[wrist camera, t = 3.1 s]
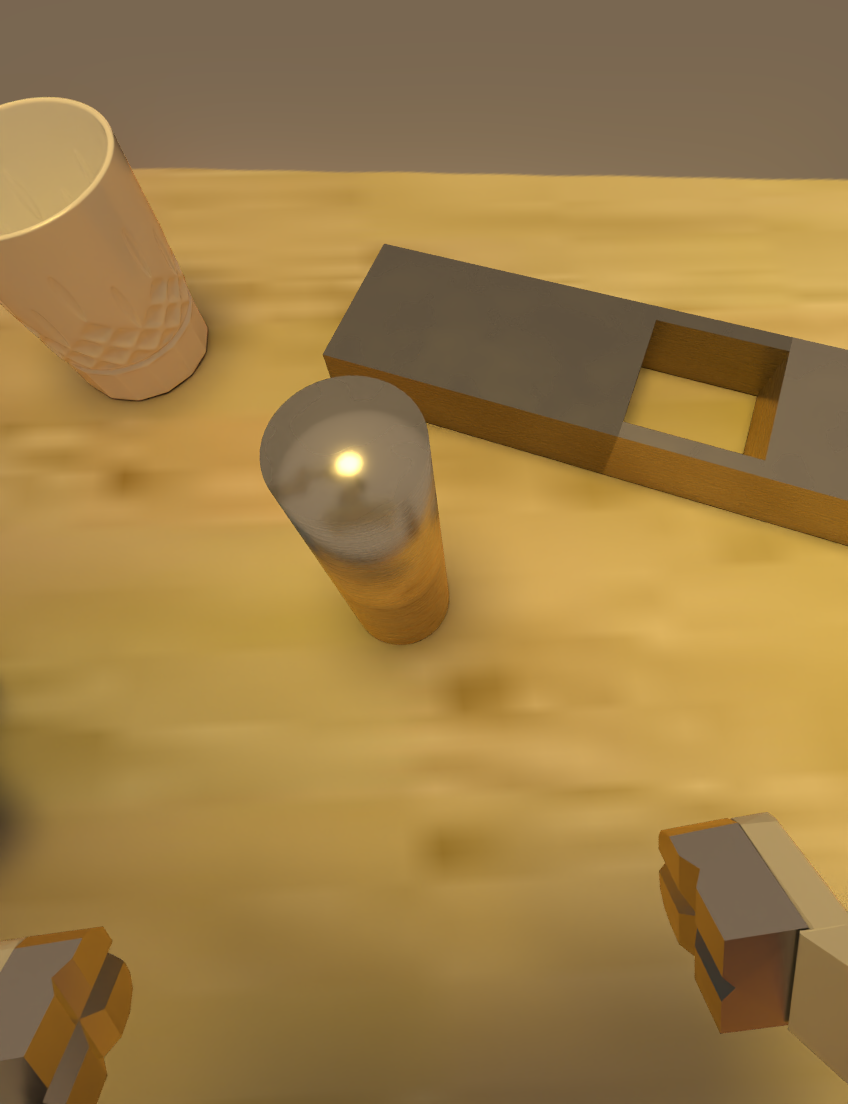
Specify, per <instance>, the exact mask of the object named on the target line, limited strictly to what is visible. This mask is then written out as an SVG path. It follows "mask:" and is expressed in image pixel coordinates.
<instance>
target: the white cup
mask: <svg viewBox="0 0 848 1104" xmlns="http://www.w3.org/2000/svg"><path fill="white" fill-rule="evenodd" d="M0 304H1V305H2V306H3V307H4V308H5V309H6V310H7V311H9V312H10V313H11V314H12V315H13V316H14V317H15V318H16V319H18V320H19V321H20V322H21V323H22V324H23V325H24V326H25V327H26V328H27V329H29V330H30V331H31V332H32V333H33V334H34V335H36V336H37V337H38V338H39V339H40V340H41V341H42V342H43V343H44V344H45V345H46V346H47V347H48V348H49V349H51V350H52V351H53V352H54V353H55V354H56V355H57V356H59V357H60V358H61V359H62V360H64V361H66V362H67V363H68V364H69V365H70V366H71V367H73V368H74V369H75V370H76V371H77V372H78V373H79V374H80V375H81V376H82V377H83V378H84V379H85V380H86V381H87V382H88V383H89V384H90V385H92V386H93V387H95V388H96V389H98V390H99V391H101V392H103V393H104V394H106V395H107V396H109V397H111V398H115V399H127V400H143V399H146V398H150V397H153V396H157V395H160V394H163V393H166V392H169V391H170V390H172V389H173V388H174V387H176V386H177V385H178V384H180V383H181V382H183V381H184V380H185V379H187V378H188V377H189V376H191V375H192V374H193V372H194V370H195V369H196V367H197V366H198V364H199V362H200V361H201V359H202V358H203V356H204V354H205V353H206V345H207V333H208V328H207V326H206V324H205V322H204V320H203V318H202V316H201V314H200V312H199V310H198V309H197V307H196V305H195V303H194V301H193V299H192V297H191V294H190V292H189V290H188V288H187V285H186V281H185V277H184V275H183V273H182V271H181V269H180V267H179V264H178V262H177V260H176V258H175V256H174V253H173V251H172V250H171V248H170V246H169V244H168V242H167V240H166V237H165V235H164V232H163V230H162V228H161V226H160V224H159V222H158V220H157V218H156V216H155V214H154V212H153V210H152V208H151V206H150V205H149V203H148V201H147V199H146V197H145V195H144V193H143V191H142V189H141V187H140V185H139V183H138V181H137V179H136V177H135V175H134V173H133V171H132V169H131V167H130V165H129V163H128V161H127V159H126V157H125V155H124V153H123V151H122V149H121V147H120V145H119V143H118V141H117V139H116V137H115V135H114V133H113V131H112V129H111V127H110V125H109V123H108V122H107V120H106V119H105V118H104V117H103V116H102V115H101V114H100V113H99V112H98V111H97V110H95V109H93V108H92V107H90V106H88V105H86V104H84V103H81V102H78V101H75V100H70V99H65V98H57V97H39V98H29V99H22V100H17V101H13V102H9V103H5V104H2V105H0Z"/></svg>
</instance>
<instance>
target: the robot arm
mask: <svg viewBox="0 0 848 1104" xmlns="http://www.w3.org/2000/svg"><path fill="white" fill-rule="evenodd" d="M659 851H660V853H661V855H662V857H663V859H664V861H665V864H664V865H663V867H662V868H661V869H660V870H659V880H660V890H661V895H662V899H663V903H664V908H665V911H666V913H667V916H668V919H669V922H670V925H671V927H672V929H673V931H674V934H675V936H676V938H677V941H678V943H679V945H681V946H682V947H683V948H685V949H686V950H687V951H688V952H690V953H691V954H692V955H694V956H695V980H696V982H697V985H698V987H699V989H700V991H701V993H702V995H703V998H704V1000H705V1002H706V1004H707V1006H708V1008H709V1010H710V1013H711V1015H712V1017H713V1019H714V1021H715V1023H716V1026H717V1028H718V1030H719V1032H720V1034H723V1033H730V1032H738V1031H746V1030H753V1029H761V1028H769V1027H776V1026H784V1025H788V1030H789V1031H790V1032H791V1033H792V1034H794V1035H795V1036H796V1037H797V1038H798V1039H799V1040H800V1041H801V1042H802V1043H803V1044H804V1045H806V1046H807V1047H808V1048H809V1049H810V1050H811V1051H812V1052H813V1053H814V1054H815V1055H816V1056H818V1057H819V1058H820V1059H821V1060H822V1061H823V1062H824V1063H825V1064H826V1065H827V1066H829V1067H830V1068H831V1069H832V1070H833V1071H834V1072H835V1073H836V1074H837V1075H838V1076H839V1077H841V1078H842V1079H843V1080H844V1081H845V1082H846V1083H847V1084H848V912H847V910H846V909H845V908H844V907H843V905H842V904H841V903H840V901H839V900H838V899H837V897H836V896H835V895H834V894H833V892H832V891H831V890H830V888H829V887H828V886H827V884H826V883H825V882H824V880H823V879H822V878H821V877H820V875H819V874H818V873H817V871H816V870H815V869H814V867H813V866H812V865H811V864H810V862H809V861H808V860H807V858H806V857H805V856H804V854H803V853H802V852H801V851H800V849H799V848H798V847H797V845H796V844H795V843H794V841H793V840H792V839H791V837H790V836H789V835H788V834H787V832H786V831H785V830H784V828H783V827H782V826H781V824H780V823H779V822H778V821H777V819H776V818H775V817H773V816H772V815H771V814H769V813H768V812H765V813H758V814H752V815H747V816H741V817H735V818H731V819H728V818H724V819H719V820H713V821H708V822H703V823H697V824H692V825H686V826H681V827H676V828H670V829H665V830H661V832H660V834H659ZM111 944H112V939H111V938H110V936H109V935H108V933H107V932H106V930H105V929H104V927H103V926H102V927H95V928H88V929H80V930H73V931H66V932H59V933H52V934H45V935H38V936H30V937H24V938H17V939H11V940H5V941H0V1104H97V1102H98V1099H99V1097H100V1094H101V1091H102V1089H103V1086H104V1083H105V1080H106V1078H107V1071H106V1066H105V1062H104V1057H105V1055H106V1054H107V1053H108V1052H109V1051H110V1050H111V1048H112V1047H113V1046H114V1045H115V1044H116V1043H117V1042H118V1040H119V1039H120V1038H121V1037H122V1034H123V1031H124V1029H125V1026H126V1023H127V1020H128V1017H129V1014H130V1009H131V1000H132V992H133V986H132V980H131V974H130V971H129V969H128V967H127V965H126V964H125V962H124V961H123V960H121V959H119V958H118V957H116V956H114V955H112V954H110V953H108V951H109V949H110V946H111Z"/></svg>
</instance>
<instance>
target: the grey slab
mask: <svg viewBox="0 0 848 1104" xmlns="http://www.w3.org/2000/svg"><path fill="white" fill-rule="evenodd" d="M323 357H324V360H325V362H326V365H327V368H328V371H329V374H330V377H331V378H333V377H339V376H367V377H372V378H376V379H379V380H382V381H385V382H388V383H390V384H392V385H394V386H396V387H397V388H399V389H400V390H402V391H403V392H404V393H406V394H407V395H408V396H409V397H410V398H411V399H412V400H413V401H414V403H415V404H416V405H417V406H418V408H419V410H420V411H421V413H422V415H423V417H424V420H425V422H428V423H431V424H434V425H438V426H441V427H445V428H448V429H451V430H455V431H458V432H462V433H465V434H469V435H472V436H475V437H479V438H482V439H486V440H489V441H492V442H496V443H499V444H503V445H506V446H509V447H513V448H516V449H520V450H523V451H527V452H530V453H533V454H537V455H540V456H544V457H547V458H550V459H554V460H557V461H561V462H564V463H568V464H571V465H574V466H578V467H581V468H585V469H588V470H591V471H595V472H598V473H602V474H605V475H608V476H612V477H615V478H619V479H622V480H626V481H629V482H632V483H636V484H639V485H643V486H646V487H649V488H653V489H656V490H660V491H663V492H666V493H670V494H673V495H677V496H680V497H684V498H687V499H690V500H694V501H697V502H701V503H704V504H707V505H711V506H714V507H718V508H721V509H725V510H728V511H731V512H735V513H738V514H742V515H745V516H748V517H752V518H755V519H759V520H762V521H765V522H769V523H772V524H776V525H779V526H783V527H786V528H789V529H793V530H796V531H800V532H803V533H806V534H810V535H813V536H817V537H820V538H823V539H827V540H830V541H834V542H837V543H841V544H844V545H847V546H848V350H845V349H841V348H836V347H832V346H828V345H823V344H819V343H815V342H810V341H806V340H802V339H797V338H793V337H788V336H784V335H780V334H775V333H771V332H767V331H762V330H758V329H754V328H749V327H745V326H741V325H736V324H732V323H727V322H723V321H719V320H714V319H710V318H706V317H701V316H697V315H693V314H688V313H684V312H679V311H675V310H671V309H666V308H662V307H658V306H653V305H649V304H645V303H640V302H636V301H632V300H627V299H623V298H618V297H614V296H610V295H605V294H601V293H597V292H592V291H588V290H584V289H579V288H575V287H570V286H566V285H562V284H557V283H553V282H549V281H544V280H540V279H536V278H531V277H527V276H523V275H518V274H514V273H509V272H505V271H501V270H496V269H492V268H488V267H483V266H479V265H475V264H470V263H466V262H461V261H457V260H453V259H448V258H444V257H440V256H435V255H431V254H427V253H422V252H418V251H414V250H409V249H405V248H400V247H396V246H392V245H387V244H384V245H383V247H382V249H381V250H380V252H379V254H378V256H377V258H376V259H375V261H374V263H373V265H372V267H371V268H370V270H369V272H368V274H367V276H366V277H365V279H364V281H363V283H362V285H361V286H360V288H359V290H358V292H357V294H356V295H355V297H354V299H353V301H352V303H351V305H350V306H349V308H348V310H347V312H346V314H345V315H344V317H343V319H342V321H341V323H340V324H339V326H338V328H337V330H336V332H335V333H334V335H333V337H332V339H331V341H330V342H329V344H328V346H327V348H326V350H325V351H324V353H323ZM641 367H645V368H649V369H653V370H657V371H661V372H665V373H669V374H673V375H677V376H681V377H685V378H689V379H692V380H696V381H700V382H704V383H708V384H712V385H716V386H720V387H724V388H728V389H732V390H736V391H740V392H744V393H748V394H752V395H756V396H757V400H756V404H755V408H754V412H753V417H752V421H751V425H750V429H749V433H748V437H747V442H746V446H745V450H744V454H740V453H736V452H732V451H729V450H725V449H721V448H718V447H714V446H710V445H707V444H703V443H699V442H696V441H692V440H688V439H685V438H681V437H677V436H674V435H670V434H666V433H662V432H659V431H655V430H651V429H648V428H644V427H640V426H637V425H633V424H629V423H626V422H623V420H624V417H625V414H626V411H627V408H628V405H629V402H630V398H631V395H632V392H633V389H634V386H635V383H636V380H637V377H638V374H639V371H640V368H641Z"/></svg>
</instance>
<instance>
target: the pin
mask: <svg viewBox="0 0 848 1104" xmlns="http://www.w3.org/2000/svg"><path fill="white" fill-rule="evenodd" d="M260 466H261V471H262V475H263V478H264V480H265V483H266V485H267V487H268V488H269V490H270V491H271V493H272V494H273V496H274V497H275V499H276V500H277V502H278V503H279V505H280V506H281V508H282V509H283V510H284V512H285V513H286V515H287V516H288V518H289V519H290V521H291V522H292V524H293V525H294V526H295V528H296V529H297V531H298V532H299V534H300V535H301V537H302V538H303V540H304V541H305V542H306V544H307V545H308V547H309V548H310V550H311V551H312V553H313V554H314V555H315V557H316V558H317V560H318V561H319V563H320V564H321V566H322V567H323V569H324V570H325V571H326V573H327V574H328V576H329V577H330V579H331V580H332V582H333V583H334V585H335V586H336V587H337V589H338V590H339V592H340V593H341V595H342V596H343V598H344V599H345V601H346V602H347V603H348V605H349V606H350V608H351V609H352V611H353V612H354V614H355V615H356V617H357V618H358V619H359V621H360V622H361V624H362V625H363V627H364V628H365V629H366V630H367V631H368V632H369V633H370V634H371V635H372V636H374V637H375V638H377V639H378V640H381V641H383V642H386V643H389V644H395V645H405V644H411V643H415V642H418V641H421V640H422V639H424V638H426V637H428V636H429V635H431V634H432V633H433V632H434V631H435V630H436V629H437V628H438V627H439V626H440V624H441V623H442V621H443V619H444V617H445V615H446V613H447V609H448V605H449V590H448V583H447V575H446V567H445V559H444V552H443V544H442V536H441V529H440V521H439V513H438V505H437V498H436V490H435V482H434V475H433V467H432V459H431V451H430V444H429V436H428V430H427V426H426V422H425V420H424V417H423V415H422V413H421V411H420V410H419V408H418V406H417V405H416V404H415V403H414V401H413V400H412V399H411V398H410V397H409V396H408V395H407V394H406V393H404V392H403V391H402V390H400V389H399V388H397V387H396V386H394V385H392V384H390V383H388V382H385V381H382V380H379V379H376V378H372V377H367V376H339V377H333V378H329V379H325V380H322V381H319V382H316V383H314V384H312V385H309V386H307V387H305V388H304V389H302V390H300V391H299V392H297V393H296V394H294V395H293V396H292V397H290V398H289V399H288V400H287V401H286V402H285V403H284V404H283V405H282V406H281V407H280V408H279V409H278V410H277V411H276V413H275V414H274V415H273V417H272V418H271V420H270V421H269V423H268V425H267V427H266V430H265V432H264V435H263V438H262V442H261V447H260Z"/></svg>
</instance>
